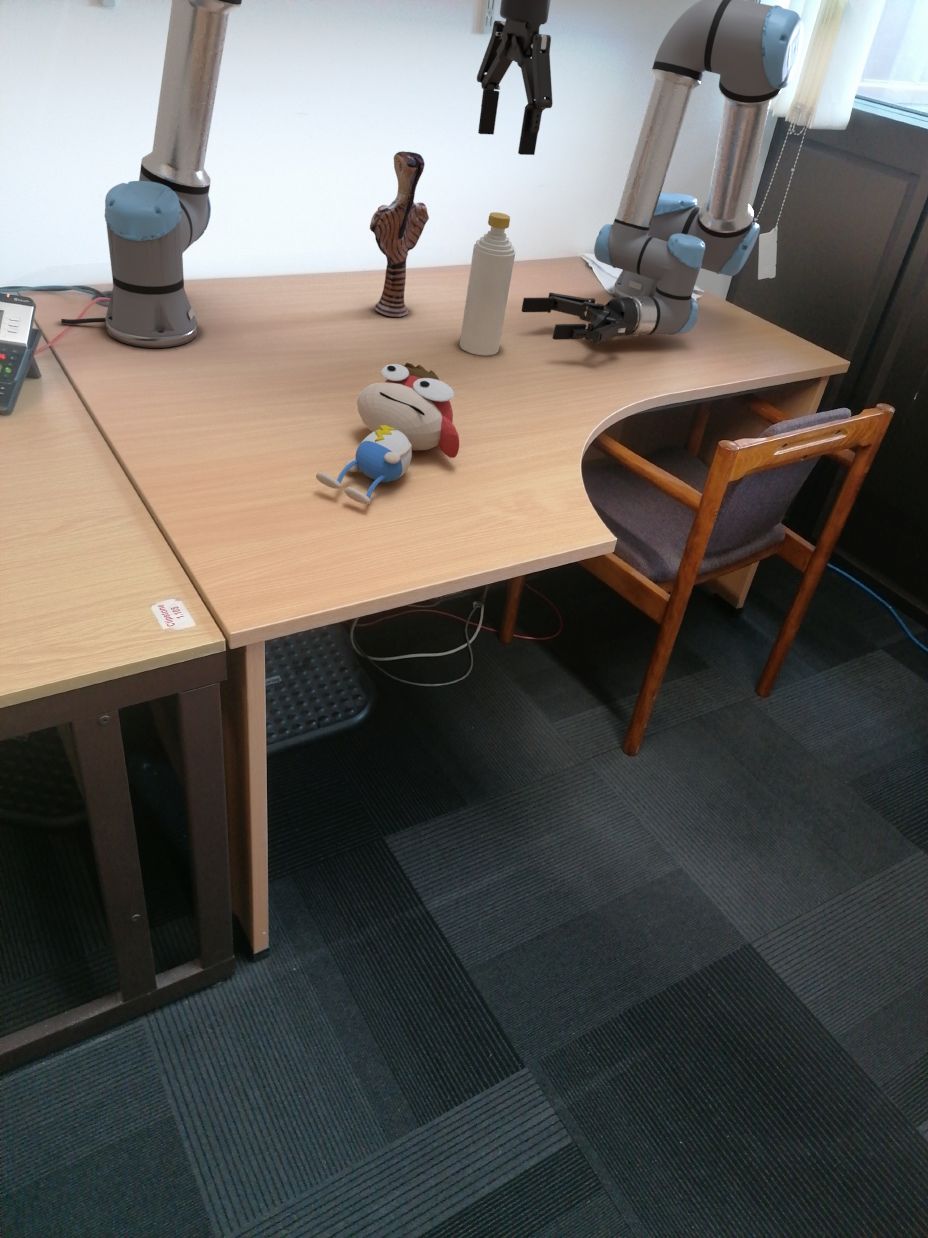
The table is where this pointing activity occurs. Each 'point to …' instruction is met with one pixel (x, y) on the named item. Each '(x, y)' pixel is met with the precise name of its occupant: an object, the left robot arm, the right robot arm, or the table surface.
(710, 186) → the right robot arm
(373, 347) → the table surface
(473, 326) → the bottle
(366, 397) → the toy
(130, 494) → the table surface
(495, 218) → the cap
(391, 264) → the figurine
